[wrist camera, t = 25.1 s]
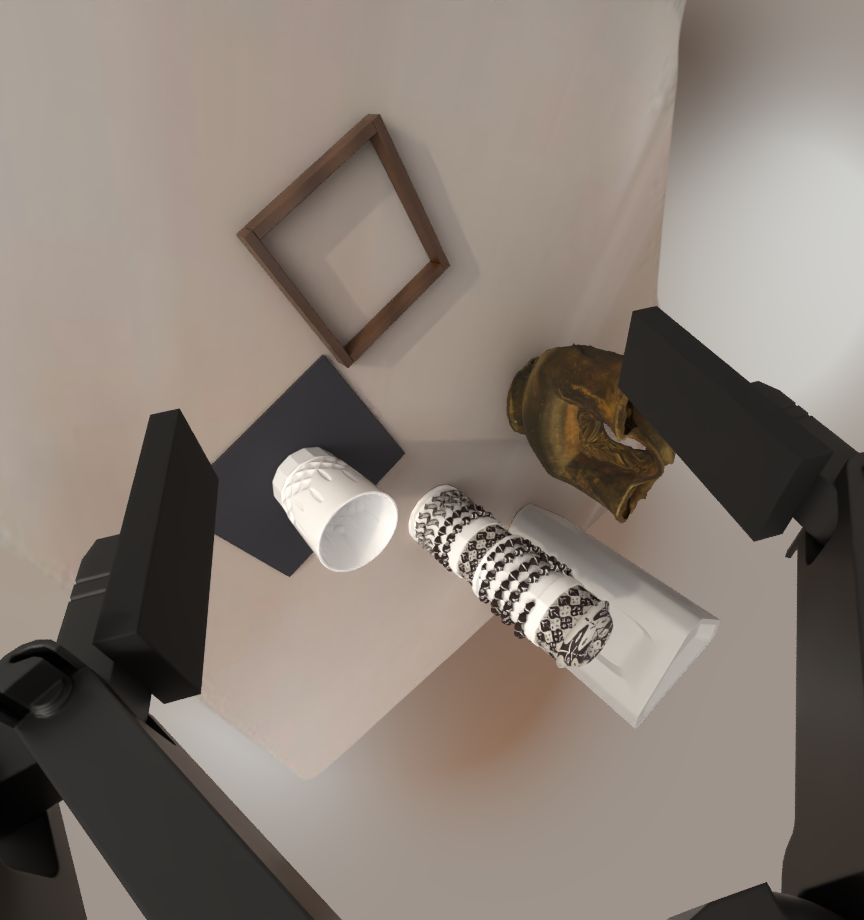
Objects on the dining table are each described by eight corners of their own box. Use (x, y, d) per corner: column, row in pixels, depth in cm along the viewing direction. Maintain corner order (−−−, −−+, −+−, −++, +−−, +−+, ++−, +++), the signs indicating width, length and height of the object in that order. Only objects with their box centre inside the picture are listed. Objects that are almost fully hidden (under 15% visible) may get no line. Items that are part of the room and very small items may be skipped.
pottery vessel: (482, 338, 57) (641, 405, 44) (547, 287, 60) (714, 335, 47) (516, 479, 74) (637, 556, 62) (566, 434, 78) (690, 498, 65)
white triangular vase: (563, 475, 83) (737, 577, 65) (563, 533, 93) (714, 636, 75) (477, 544, 76) (646, 680, 58) (487, 599, 85) (634, 730, 67)
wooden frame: (368, 113, 38) (379, 113, 37) (439, 262, 48) (450, 265, 47) (235, 234, 36) (244, 238, 35) (339, 362, 46) (348, 368, 45)
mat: (322, 354, 45) (324, 355, 45) (403, 452, 57) (405, 453, 57) (169, 506, 42) (170, 508, 42) (288, 575, 54) (289, 577, 54)
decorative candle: (430, 552, 69) (580, 688, 53) (393, 530, 62) (554, 678, 46) (471, 499, 69) (633, 617, 53) (439, 470, 62) (615, 596, 46)
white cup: (279, 526, 50) (330, 588, 44) (253, 465, 45) (306, 524, 39) (347, 488, 54) (404, 539, 47) (330, 426, 49) (391, 475, 42)
